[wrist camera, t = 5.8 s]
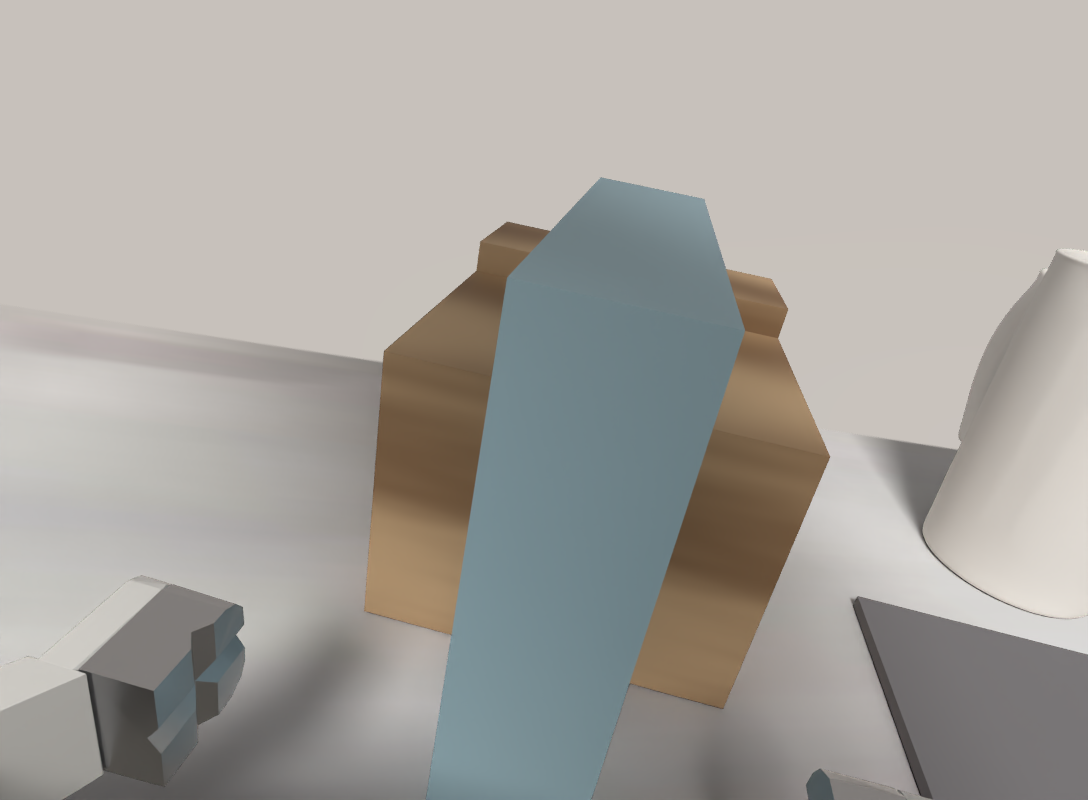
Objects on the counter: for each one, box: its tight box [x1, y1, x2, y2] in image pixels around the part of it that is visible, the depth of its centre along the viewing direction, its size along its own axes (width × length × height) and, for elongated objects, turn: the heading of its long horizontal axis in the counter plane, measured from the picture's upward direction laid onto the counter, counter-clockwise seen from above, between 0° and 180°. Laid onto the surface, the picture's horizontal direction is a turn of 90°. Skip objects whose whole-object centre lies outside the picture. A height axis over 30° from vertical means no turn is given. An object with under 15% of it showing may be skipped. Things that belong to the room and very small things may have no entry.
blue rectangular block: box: [426, 178, 745, 800], centre depth 16 cm, size 12×3×12 cm, turn 170°
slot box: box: [364, 222, 830, 709], centre depth 22 cm, size 12×10×9 cm
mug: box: [923, 249, 1088, 619], centre depth 26 cm, size 10×7×12 cm, turn 176°
